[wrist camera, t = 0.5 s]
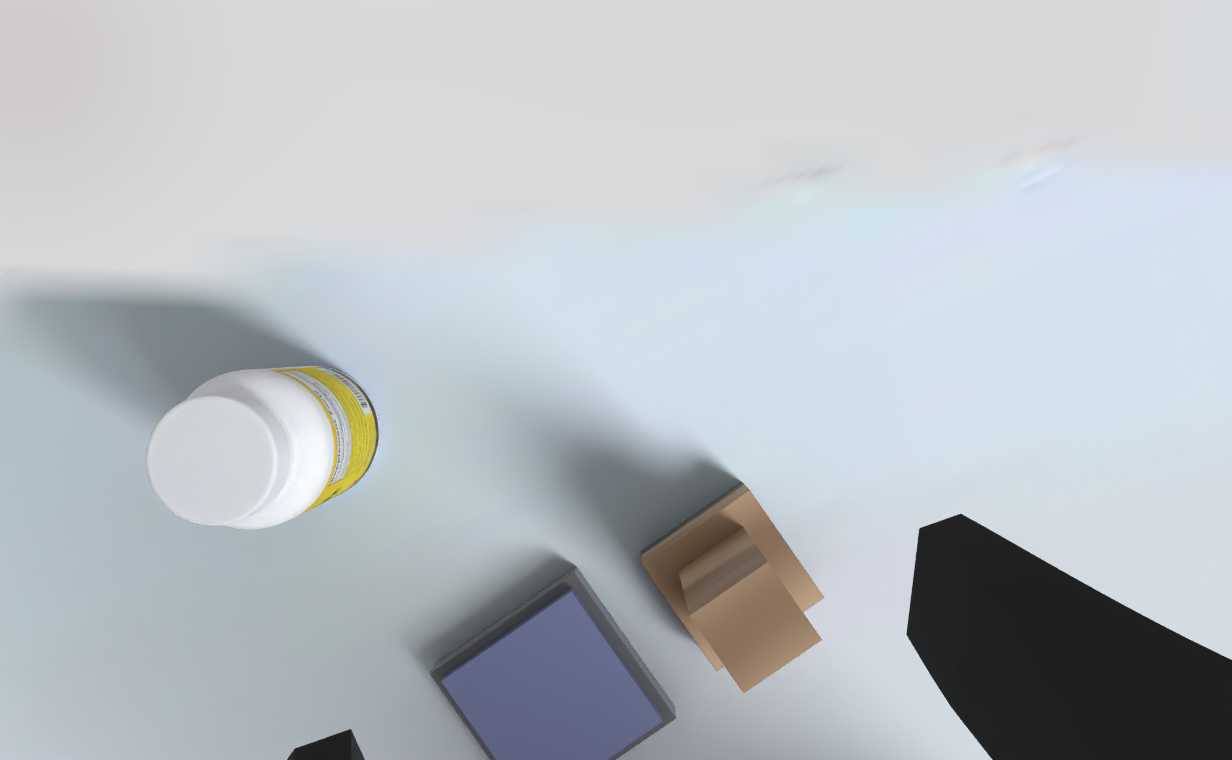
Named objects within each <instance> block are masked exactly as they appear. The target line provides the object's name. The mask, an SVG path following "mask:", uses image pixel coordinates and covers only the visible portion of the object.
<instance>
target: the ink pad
mask: <svg viewBox="0 0 1232 760" xmlns="http://www.w3.org/2000/svg"><path fill="white" fill-rule="evenodd" d="M430 674H431V676H432V677H433V678H434V680H435V681H436V683H437V684H438V686H439V687H440V688H441V690H442V691H443V693H444V694H445V695H446V697H447V698H448V700H449V701H450V703H451V704H452V705H453V707H454V708H455V710H456V711H457V713H458V714H459V715H460V717H461V718H462V720H463V721H464V722H465V724H466V725H467V727H468V728H469V730H470V731H471V732H472V734H473V735H474V737H475V738H476V739H477V741H478V742H479V744H480V745H481V747H482V748H483V749H484V751H485V752H486V754H487V755H488V757H489V758H490V759H491V760H616V759H617V758H618V757H620V756H621V755H623V754H624V753H626V752H627V751H629V750H630V749H632V748H633V747H635V746H636V745H637V744H639V743H640V742H642V741H643V740H645V739H646V738H648V737H649V736H651V735H652V734H654V733H655V732H656V731H658V730H659V729H661V728H662V727H664V726H665V725H667V724H668V723H670V722H671V721H673V720H674V719H675V718H676V714H675V707H674V705H673V704H672V702H671V701H670V699H669V698H668V697H667V695H666V694H665V692H664V691H663V689H662V688H661V687H660V685H659V684H658V682H657V681H656V679H655V678H654V677H653V675H652V674H651V672H650V671H649V669H648V668H647V667H646V665H645V664H644V662H643V661H642V659H641V658H640V657H639V655H638V654H637V652H636V651H635V649H634V648H633V647H632V645H631V644H630V642H629V641H628V639H627V638H626V637H625V635H624V634H623V632H622V631H621V629H620V628H619V627H618V625H617V624H616V622H615V621H614V619H613V618H612V617H611V615H610V614H609V612H608V611H607V609H606V608H605V607H604V605H603V604H602V602H601V601H600V599H599V598H598V597H597V595H596V594H595V592H594V591H593V589H592V588H591V587H590V585H589V584H588V582H587V581H586V579H585V578H584V577H583V575H582V574H581V572H580V571H579V569H578V568H577V567H575V568H574V569H572V570H571V571H569V572H568V573H566V574H565V575H563V576H562V577H560V578H559V579H558V580H556V581H555V582H553V583H552V584H550V585H549V586H547V587H546V588H545V589H543V590H542V591H540V592H539V593H537V594H536V595H534V596H533V597H532V598H530V599H529V600H527V601H526V602H524V603H523V604H521V605H520V606H519V607H517V608H516V609H514V610H513V611H511V612H510V613H508V614H507V615H506V616H504V617H503V618H501V619H500V620H498V621H497V622H495V623H494V624H492V625H491V626H490V627H488V628H487V629H485V630H484V631H482V632H481V633H479V634H478V635H477V636H475V637H474V638H472V639H471V640H469V641H468V642H466V643H465V644H464V645H462V646H461V647H459V648H458V649H456V650H455V651H453V652H452V653H451V654H449V655H448V656H446V657H445V658H443V659H442V660H440V661H439V662H438V663H436V665H435V666H434V668H433V669H432V671H431V673H430Z"/></svg>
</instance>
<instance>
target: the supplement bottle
mask: <svg viewBox="0 0 1232 760" xmlns="http://www.w3.org/2000/svg"><path fill="white" fill-rule="evenodd" d="M380 434H381V432H380V421H379V416H378V412H377V410H376V407H375V405H374V403H373V401H372V399H371V397H370V396H369V394H368V393H367V392H366V390H365V389H364V388H363V387H362V386H361V385H360V384H359V383H358V382H357V381H355V380H354V379H353V378H351V377H350V376H348V375H346V374H345V373H343V372H340V371H338V370H335V369H332V368H328V367H322V366H297V367H280V368H265V369H246V370H237V371H232V372H228V373H224V374H221V375H219V376H216V377H214V378H212V379H210V380H208V381H206V382H205V383H203V384H202V385H200V386H199V387H198V388H197V389H195V390H194V391H193V392H192V393H191V394H190V395H189V396H188V397H187V399H186V400H185V401H183V402H181V403H179V404H177V405H176V406H174V407H173V408H172V409H170V410H169V411H168V412H167V413H166V414H165V415H164V416H163V417H162V418H161V419H160V421H159V422H158V423H157V425H156V426H155V428H154V430H153V432H152V434H151V437H150V439H149V443H148V447H147V453H146V465H147V473H148V477H149V480H150V483H151V485H152V488H153V490H154V491H155V493H156V495H157V496H158V498H159V499H160V500H161V502H162V503H163V504H164V505H165V506H166V507H167V508H168V509H169V510H171V511H172V512H173V513H174V514H176V515H178V516H179V517H181V518H183V519H185V520H187V521H190V522H193V523H197V524H201V525H210V526H217V525H224V526H228V527H232V528H237V529H250V530H251V529H263V528H269V527H273V526H276V525H279V524H282V523H284V522H287V521H289V520H291V519H293V518H295V517H297V516H299V515H301V514H303V513H305V512H307V511H308V510H310V509H312V508H314V507H316V506H318V505H320V504H322V503H324V502H326V501H327V500H329V499H331V498H333V497H335V496H337V495H339V494H341V493H343V492H345V491H346V490H348V489H349V488H351V487H352V486H354V485H355V484H356V483H358V482H359V481H360V480H361V479H362V478H363V477H364V475H365V474H366V473H367V472H368V470H369V469H370V467H371V466H372V464H373V462H374V460H375V458H376V455H377V452H378V448H379V444H380Z"/></svg>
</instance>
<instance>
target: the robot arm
mask: <svg viewBox="0 0 1232 760" xmlns="http://www.w3.org/2000/svg"><path fill="white" fill-rule="evenodd" d="M907 636H908V638H909V640H910V641H911V643H912V645H913V646H914V648H915V650H916V651H917V653H918V655H919V656H920V658H921V660H922V661H923V663H924V665H925V666H926V668H927V670H928V671H929V673H930V675H931V676H932V678H933V679H934V681H935V682H936V684H937V686H938V687H939V689H940V690H941V692H942V693H943V695H944V697H945V698H946V700H947V701H948V703H949V704H950V706H951V707H952V708H953V710H954V711H955V712H956V714H957V715H958V716H959V718H960V719H961V720H962V721H963V723H964V724H965V725H966V727H967V728H968V729H969V730H970V732H971V733H972V734H973V735H974V737H975V738H976V739H977V741H978V742H979V743H980V744H981V746H982V747H983V748H984V749H985V751H986V752H987V753H988V755H989V756H990V757H991V758H992V760H1232V660H1230V659H1228V658H1226V657H1224V656H1222V655H1220V654H1218V653H1216V652H1214V651H1212V650H1210V649H1208V648H1206V647H1204V646H1202V645H1200V644H1198V643H1195V642H1193V641H1191V640H1189V639H1187V638H1185V637H1183V636H1182V635H1180V634H1178V633H1176V632H1174V631H1172V630H1170V629H1168V628H1166V627H1164V626H1162V625H1160V624H1158V623H1156V622H1154V621H1152V620H1151V619H1149V618H1147V617H1145V616H1143V615H1141V614H1139V613H1137V612H1135V611H1134V610H1132V609H1130V608H1128V607H1126V606H1124V605H1122V604H1121V603H1119V602H1117V601H1115V600H1113V599H1111V598H1110V597H1108V596H1106V595H1104V594H1102V593H1100V592H1099V591H1097V590H1095V589H1093V588H1091V587H1090V586H1088V585H1086V584H1084V583H1082V582H1081V581H1079V580H1077V579H1075V578H1074V577H1072V576H1070V575H1068V574H1066V573H1065V572H1063V571H1061V570H1059V569H1058V568H1056V567H1054V566H1052V565H1051V564H1049V563H1047V562H1045V561H1043V560H1042V559H1040V558H1038V557H1036V556H1035V555H1033V554H1031V553H1029V552H1028V551H1026V550H1024V549H1022V548H1021V547H1019V546H1017V545H1015V544H1014V543H1012V542H1010V541H1008V540H1007V539H1005V538H1003V537H1001V536H1000V535H998V534H996V533H994V532H993V531H991V530H989V529H987V528H986V527H984V526H982V525H980V524H978V523H977V522H975V521H973V520H971V519H969V518H967V517H966V516H964V515H962V514H959V515H956V516H953V517H950V518H947V519H945V520H942V521H939V522H936V523H933V524H930V525H928V526H925V527H922V528H919V536H918V545H917V553H916V561H915V569H914V578H913V586H912V594H911V602H910V611H909V619H908V627H907ZM287 760H365V759H364V757H363V755H362V753H361V750H360V748H359V746H358V744H357V742H356V739H355V737H354V735H353V733H352V730H351V729H350V730H347V731H344V732H341V733H338V734H335V735H333V736H330V737H327V738H324V739H321V740H318V741H316V742H313V743H310V744H307V745H304V746H301V747H299V748H296V749H294V751H293V752H292V753H291V755H290V756H289V757H288V759H287Z"/></svg>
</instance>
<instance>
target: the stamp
mask: <svg viewBox="0 0 1232 760" xmlns="http://www.w3.org/2000/svg"><path fill="white" fill-rule="evenodd" d="M641 560H642V566H643V567H644V568H645V570H646V571H647V573H648V574H649V576H650V577H651V579H652V580H653V581H654V583H655V584H656V586H657V587H658V589H659V590H660V591H661V593H662V594H663V596H664V597H665V599H666V600H667V601H668V603H669V604H670V606H671V607H672V609H673V610H674V611H675V613H676V614H677V616H678V617H679V619H680V620H681V621H682V623H683V624H684V626H685V627H686V629H687V630H688V631H689V633H690V634H691V636H692V637H693V639H694V640H695V642H696V643H697V644H698V646H699V647H700V649H701V650H702V652H703V653H704V654H705V656H706V657H707V659H708V660H709V662H710V663H711V664H712V666H713V667H714V669H715V670H716V672H717V671H718V670H720V669H721V668H723V667H724V666H725V667H726V669H727V670H728V672H729V673H730V675H731V676H732V677H733V679H734V680H735V682H736V683H737V685H738V686H739V688H740V689H741V690H742V692H743V693H745V692H746V691H748V690H749V689H751V688H752V687H754V686H755V685H757V684H758V683H760V682H761V681H762V680H764V679H765V678H767V677H768V676H770V675H771V674H773V673H774V672H776V671H777V670H779V669H780V668H781V667H783V666H784V665H786V664H787V663H789V662H790V661H792V660H793V659H795V658H796V657H798V656H799V655H800V654H802V653H803V652H805V651H806V650H808V649H809V648H811V647H812V646H814V645H815V644H817V643H818V642H819V641H821V640H822V639H821V638H820V636H819V635H818V633H817V632H816V631H815V629H814V628H813V626H812V625H811V623H810V622H809V620H808V619H807V618H806V616H805V615H804V613H803V612H804V611H806V610H807V609H809V608H810V607H812V606H813V605H814V604H816V603H817V602H819V601H820V600H822V599H823V598H824V596H823V595H822V593H821V592H820V591H819V589H818V588H817V586H816V585H815V583H814V582H813V580H812V579H811V578H810V576H809V575H808V573H807V572H806V570H805V569H804V567H803V566H802V565H801V563H800V562H799V560H798V559H797V557H796V556H795V555H794V553H793V552H792V550H791V549H790V547H789V546H788V544H787V543H786V542H785V540H784V539H783V537H782V536H781V534H780V533H779V532H778V530H777V529H776V527H775V526H774V524H773V523H772V521H771V520H770V519H769V517H768V516H767V514H766V513H765V511H764V510H763V509H762V507H761V506H760V504H759V503H758V501H757V500H756V498H755V497H754V496H753V494H752V493H751V491H750V490H749V489H748V488H747V487H746V486H745V485H744V484H743V483H742V482H741V483H739V484H738V485H736V486H735V487H733V488H732V489H731V490H729V491H728V492H726V493H725V494H723V495H722V496H720V497H719V498H718V499H716V500H715V501H713V502H712V503H710V504H709V505H707V506H706V507H705V508H703V509H702V510H700V511H699V512H697V513H696V514H694V515H693V516H691V517H690V518H689V519H687V520H686V521H684V522H683V523H681V524H680V525H678V526H677V527H676V528H674V529H673V530H671V531H670V532H668V533H667V534H665V535H664V536H663V537H661V538H660V539H658V540H657V541H655V542H654V543H652V544H651V545H649V546H648V547H647V548H645V549H644V550H642V551H641Z"/></svg>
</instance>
